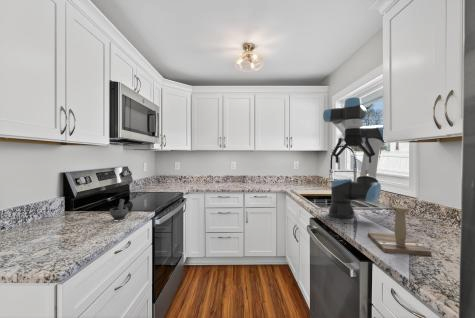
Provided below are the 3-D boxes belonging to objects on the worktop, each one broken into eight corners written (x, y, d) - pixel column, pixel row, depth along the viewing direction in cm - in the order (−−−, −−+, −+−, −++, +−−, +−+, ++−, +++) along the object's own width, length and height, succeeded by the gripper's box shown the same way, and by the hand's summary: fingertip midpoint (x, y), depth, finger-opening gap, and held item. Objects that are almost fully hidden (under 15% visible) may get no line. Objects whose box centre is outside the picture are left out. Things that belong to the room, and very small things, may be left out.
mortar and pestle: (124, 222, 139) (123, 201, 139) (107, 222, 138) (107, 202, 138) (130, 217, 151) (130, 198, 150) (115, 217, 150) (115, 198, 150)
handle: (398, 240, 101) (398, 205, 100) (412, 246, 94) (412, 208, 94) (388, 241, 100) (388, 205, 100) (401, 247, 93) (401, 209, 93)
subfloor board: (367, 235, 113) (367, 231, 112) (405, 237, 109) (405, 233, 109) (384, 252, 93) (384, 247, 93) (431, 255, 90) (431, 250, 90)
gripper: (328, 128, 122) (328, 169, 122) (382, 126, 116) (382, 169, 117) (326, 129, 129) (326, 169, 129) (376, 128, 124) (376, 169, 124)
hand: (352, 169), depth 123 cm, fingers open, 13 cm apart
